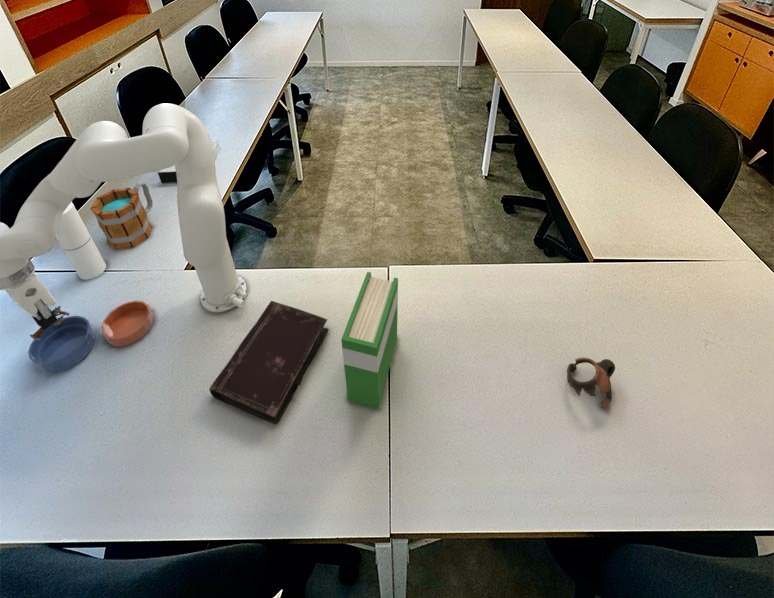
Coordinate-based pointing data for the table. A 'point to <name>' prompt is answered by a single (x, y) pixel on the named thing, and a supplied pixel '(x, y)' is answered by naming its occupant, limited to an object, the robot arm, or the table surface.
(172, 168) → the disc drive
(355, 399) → the hardback book
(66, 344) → the bowl
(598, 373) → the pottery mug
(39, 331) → the wooden post with brackets
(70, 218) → the cylindrical container
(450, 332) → the table surface
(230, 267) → the robot arm
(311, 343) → the diary
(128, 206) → the mug
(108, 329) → the shallow terracotta dish
